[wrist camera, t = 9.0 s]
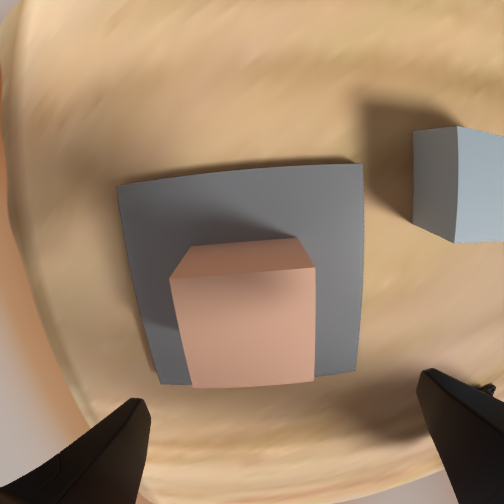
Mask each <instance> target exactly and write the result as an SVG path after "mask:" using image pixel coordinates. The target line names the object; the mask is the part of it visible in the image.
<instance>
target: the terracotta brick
mask: <svg viewBox="0 0 504 504" xmlns="http://www.w3.org/2000/svg"><path fill="white" fill-rule="evenodd" d="M169 281H170V286H171V291H172V297H173V302H174V307H175V312H176V316H177V321H178V326H179V331H180V335H181V340H182V344H183V348H184V353H185V357H186V361H187V365H188V369H189V373H190V377H191V381H192V385H193V389H204V388H239V387H257V386H271V385H282V384H293V383H302V382H311V381H314V366H315V318H316V284H315V266H314V264H313V263H312V261H311V259H310V257H309V256H308V254H307V252H306V251H305V249H304V247H303V246H302V244H301V242H300V241H299V239H298V238H286V239H273V240H261V241H248V242H236V243H224V244H212V245H200V246H191V247H190V249H189V250H188V251H187V253H186V254H185V256H184V257H183V259H182V260H181V262H180V263H179V265H178V266H177V268H176V269H175V271H174V272H173V273H172V275H171V276H170V278H169Z"/></svg>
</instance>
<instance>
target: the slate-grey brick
mask: <svg viewBox="0 0 504 504" xmlns="http://www.w3.org/2000/svg"><path fill="white" fill-rule="evenodd" d="M413 152H414V193H413V218H412V224H413V225H416V226H418V227H420V228H422V229H425V230H427V231H429V232H431V233H433V234H435V235H438V236H440V237H442V238H444V239H446V240H448V241H450V242H452V243H473V242H494V241H504V137H503V136H499V135H496V134H492V133H487V132H483V131H479V130H474V129H470V128H465V127H460V126H452V127H443V128H434V129H426V130H418V131H413Z"/></svg>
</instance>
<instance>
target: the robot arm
mask: <svg viewBox="0 0 504 504" xmlns="http://www.w3.org/2000/svg"><path fill="white" fill-rule="evenodd" d="M495 389H496V387H495V386H494V385H491V386H489V387H486V388H484V389H481V390H477V389H475V388H473V387H471V386H469V385H467V384H465V383H463V382H461V381H459V380H457V379H455V378H453V377H451V376H449V375H447V374H445V373H443V372H441V371H438V370H436V369H434V368H430V369H426V370H423V371H422V372H421V375H420V378H419V382H418V386H417V391H416V392H417V397H418V400H419V403H420V406H421V409H422V412H423V415H424V418H425V421H426V424H427V427H428V430H429V432H430V435H431V437H432V439H433V442H434V444H435V446H436V449H437V451H438V453H439V455H440V458H441V460H442V463H443V465H444V467H445V470H446V472H447V475H448V477H449V480H450V482H451V485H452V487H453V490H454V492H455V495H456V498H457V500H458V503H459V504H504V402H502V401H500V400H498V399H496V398H494V397H493V394H494V391H495ZM150 426H151V416H150V413H149V411H148V409H147V406H146V404H145V401H144V400H143V399H141V398H130V399H129V400H127V401H126V402H125V403H124V404H122V405H121V406H120V407H118V408H117V409H116V410H115V411H113V412H112V413H111V414H110V415H108V416H107V417H106V418H104V419H103V420H102V421H100V422H99V423H98V424H97V425H95V426H94V427H93V428H91V429H90V430H89V431H87V432H86V433H85V434H84V435H82V436H81V437H80V438H78V439H77V440H76V441H74V442H73V443H72V444H70V445H69V446H68V447H66V448H65V449H64V450H62V451H61V452H60V453H58V454H57V455H55V456H54V457H53V458H51V459H50V460H48V461H47V462H45V463H44V464H42V465H41V466H39V467H38V468H36V469H35V470H33V471H31V472H29V473H28V474H26V475H24V476H22V477H20V478H19V479H17V480H15V481H13V482H11V483H9V484H8V485H5V486H3V487H0V504H135V503H136V498H137V494H138V490H139V486H140V482H141V478H142V474H143V470H144V466H145V462H146V456H147V449H148V441H149V433H150Z"/></svg>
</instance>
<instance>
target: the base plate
mask: <svg viewBox="0 0 504 504" xmlns="http://www.w3.org/2000/svg"><path fill="white" fill-rule="evenodd" d="M116 187H117V194H118V202H119V209H120V215H121V222H122V228H123V234H124V239H125V245H126V250H127V256H128V261H129V266H130V271H131V275H132V280H133V284H134V289H135V293H136V298H137V302H138V306H139V310H140V314H141V318H142V322H143V326H144V329H145V333H146V337H147V340H148V344H149V347H150V351H151V354H152V358H153V361H154V364H155V367H156V371H157V374H158V377H159V380H160V383H161V384H171V385H192V381H191V377H190V373H189V369H188V365H187V361H186V357H185V353H184V348H183V344H182V340H181V335H180V331H179V326H178V321H177V316H176V312H175V307H174V302H173V297H172V291H171V286H170V281H169V278H170V276H171V275H172V273H173V272H174V271H175V269H176V268H177V266H178V265H179V263H180V262H181V260H182V259H183V257H184V256H185V254H186V253H187V251H188V250H189V249H190V247H191V246H200V245H212V244H224V243H236V242H248V241H261V240H273V239H286V238H298V239H299V241H300V242H301V244H302V246H303V247H304V249H305V251H306V252H307V254H308V256H309V257H310V259H311V261H312V263H313V264H314V266H315V284H316V318H315V366H314V377H317V376H325V375H332V374H339V373H345V372H352V371H355V368H356V360H357V351H358V342H359V331H360V320H361V306H362V290H363V268H364V184H363V164H357V163H356V164H319V165H297V166H280V167H266V168H253V169H241V170H231V171H221V172H211V173H202V174H194V175H186V176H178V177H171V178H163V179H156V180H150V181H143V182H137V183H131V184H125V185H120V186H116Z"/></svg>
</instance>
